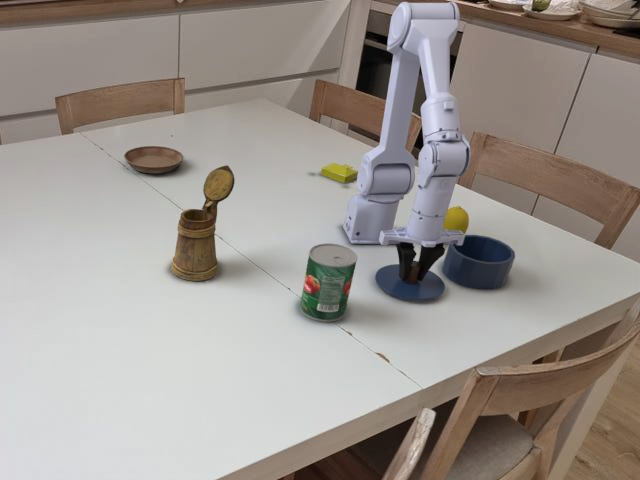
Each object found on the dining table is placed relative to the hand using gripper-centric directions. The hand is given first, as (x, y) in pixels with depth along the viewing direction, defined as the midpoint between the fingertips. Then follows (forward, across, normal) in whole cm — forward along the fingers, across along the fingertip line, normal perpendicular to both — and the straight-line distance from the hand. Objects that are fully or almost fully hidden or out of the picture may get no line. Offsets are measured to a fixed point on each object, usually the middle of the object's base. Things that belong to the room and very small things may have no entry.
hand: (410, 278), depth 124 cm
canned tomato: (+2, -18, -8) cm, 20 cm away
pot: (+2, +14, +4) cm, 15 cm away
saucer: (+2, -46, +58) cm, 74 cm away
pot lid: (+1, 0, 0) cm, 1 cm away
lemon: (+2, +14, +17) cm, 22 cm away
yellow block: (+2, 0, +52) cm, 52 cm away
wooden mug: (+2, -38, +8) cm, 39 cm away
